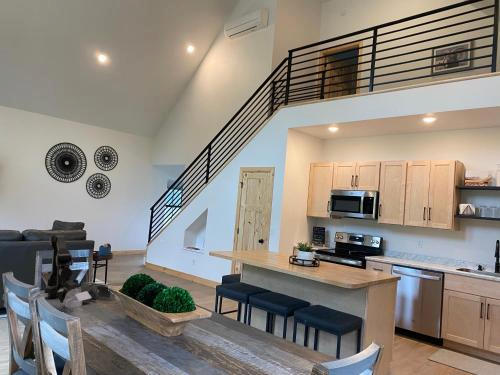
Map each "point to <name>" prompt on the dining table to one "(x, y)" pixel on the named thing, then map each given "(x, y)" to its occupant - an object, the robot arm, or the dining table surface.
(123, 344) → the dining table surface
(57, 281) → the robot arm
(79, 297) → the wedge on round base
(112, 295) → the gauge housing
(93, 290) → the gauge plunger
